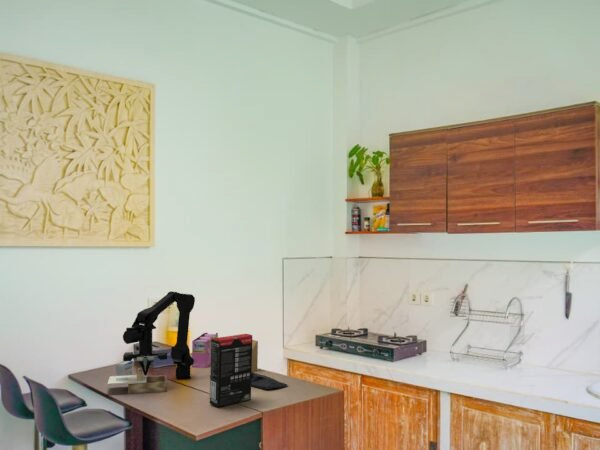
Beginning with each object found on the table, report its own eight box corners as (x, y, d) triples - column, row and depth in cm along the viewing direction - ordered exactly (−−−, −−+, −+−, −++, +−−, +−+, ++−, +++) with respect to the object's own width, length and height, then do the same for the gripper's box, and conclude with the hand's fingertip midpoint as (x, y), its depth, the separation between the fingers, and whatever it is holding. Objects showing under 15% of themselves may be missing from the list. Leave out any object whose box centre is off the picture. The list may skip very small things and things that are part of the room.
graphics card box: (242, 396, 249) (243, 332, 249) (253, 400, 244) (253, 334, 244) (209, 404, 237) (209, 337, 237) (219, 408, 232) (219, 340, 232)
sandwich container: (223, 374, 286) (223, 343, 285) (245, 367, 298) (245, 338, 298) (236, 377, 280) (236, 345, 280) (257, 370, 293) (257, 340, 293)
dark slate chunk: (263, 393, 254) (263, 382, 254) (235, 383, 271) (235, 372, 271) (291, 387, 264) (291, 377, 264) (262, 377, 281) (262, 367, 281)
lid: (147, 375, 265) (147, 366, 265) (146, 382, 253) (146, 373, 253) (110, 377, 261) (110, 368, 261) (107, 385, 250) (107, 375, 250)
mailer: (166, 384, 267) (166, 375, 267) (166, 391, 255) (166, 382, 255) (129, 386, 263) (129, 377, 263) (128, 393, 252) (128, 384, 251)
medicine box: (124, 383, 268) (124, 364, 268) (115, 382, 269) (115, 363, 269) (132, 378, 276) (132, 360, 276) (124, 378, 277) (124, 360, 277)
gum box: (205, 356, 322) (205, 332, 321) (219, 357, 321) (219, 332, 320) (191, 367, 298) (191, 340, 298) (206, 368, 297) (206, 341, 297)
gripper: (167, 335, 269) (167, 369, 269) (124, 337, 265) (124, 372, 265) (167, 340, 258) (167, 376, 258) (123, 342, 254) (123, 378, 254)
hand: (145, 375), depth 259 cm, fingers closed
